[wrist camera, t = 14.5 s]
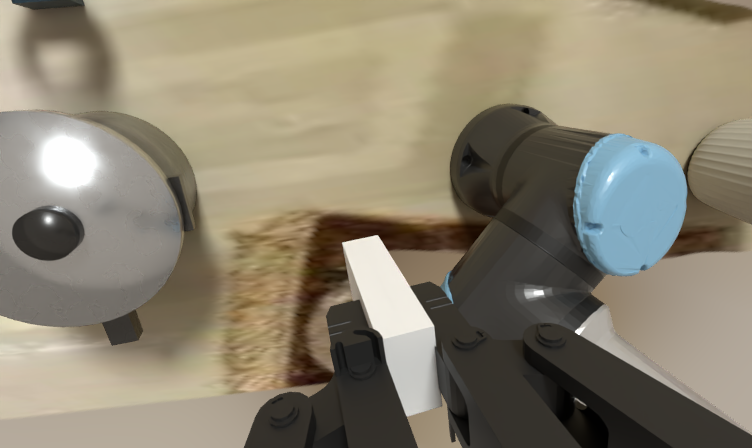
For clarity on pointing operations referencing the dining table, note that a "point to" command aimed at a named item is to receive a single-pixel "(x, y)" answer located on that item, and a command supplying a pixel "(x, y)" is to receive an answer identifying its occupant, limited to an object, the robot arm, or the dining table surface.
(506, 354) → the robot arm
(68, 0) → the watch
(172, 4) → the dining table surface
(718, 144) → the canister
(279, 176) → the dining table surface
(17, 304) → the lid
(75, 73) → the dining table surface
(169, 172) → the cooker pot
